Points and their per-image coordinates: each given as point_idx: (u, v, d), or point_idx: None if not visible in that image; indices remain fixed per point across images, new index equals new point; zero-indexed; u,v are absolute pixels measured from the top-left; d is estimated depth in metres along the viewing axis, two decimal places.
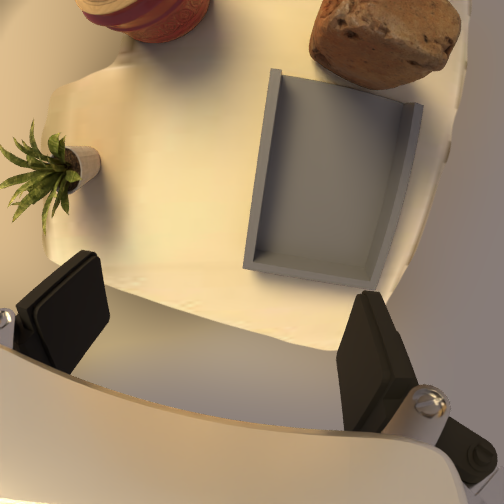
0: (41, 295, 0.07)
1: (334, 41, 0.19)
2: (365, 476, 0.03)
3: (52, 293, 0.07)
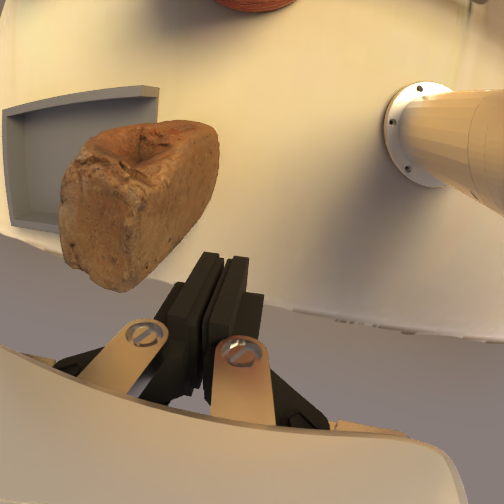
0: (194, 301, 0.08)
1: None
2: (365, 476, 0.03)
3: (201, 298, 0.08)
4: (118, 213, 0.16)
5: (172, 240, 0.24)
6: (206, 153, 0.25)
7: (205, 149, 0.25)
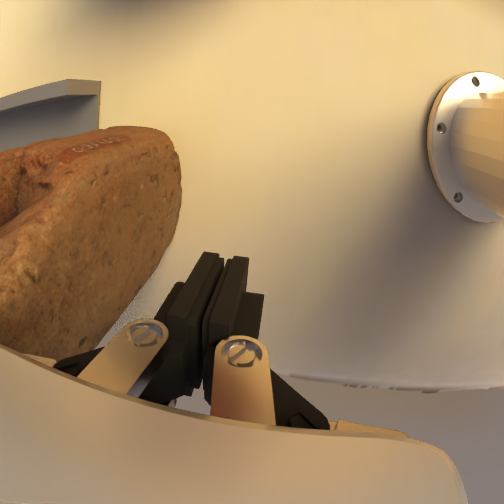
0: (194, 301, 0.08)
1: None
2: (365, 476, 0.03)
3: (201, 298, 0.08)
4: None
5: (91, 336, 0.13)
6: (142, 184, 0.14)
7: (139, 178, 0.14)
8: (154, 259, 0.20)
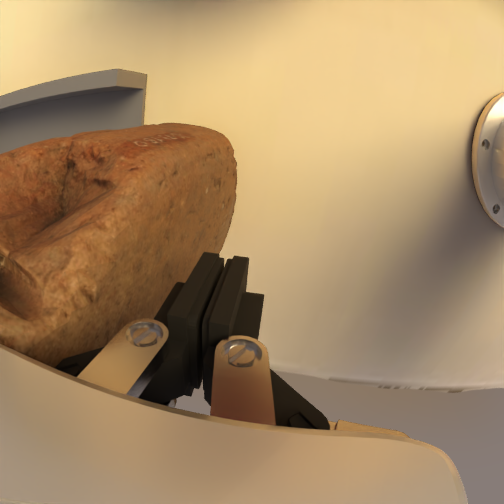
0: (193, 301, 0.08)
1: None
2: (365, 476, 0.03)
3: (201, 298, 0.08)
4: None
5: None
6: (207, 188, 0.13)
7: (205, 181, 0.13)
8: None
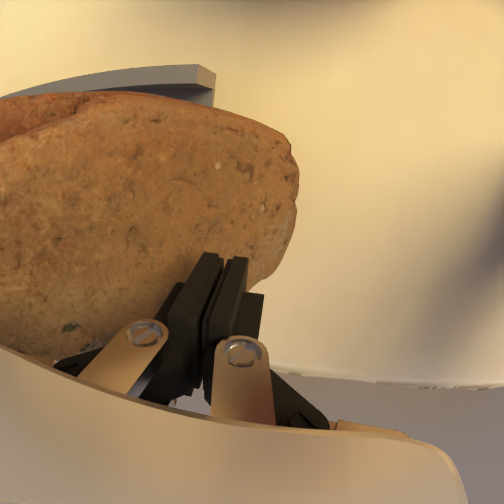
0: (194, 301, 0.08)
1: None
2: (365, 476, 0.03)
3: (201, 298, 0.08)
4: None
5: (90, 330, 0.10)
6: (218, 163, 0.11)
7: (214, 151, 0.11)
8: None
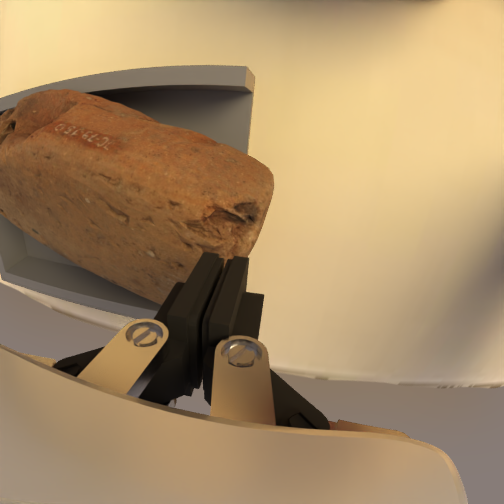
0: (194, 301, 0.08)
1: None
2: (365, 476, 0.03)
3: (201, 298, 0.08)
4: None
5: (45, 239, 0.17)
6: (87, 199, 0.13)
7: (82, 189, 0.12)
8: (142, 289, 0.18)
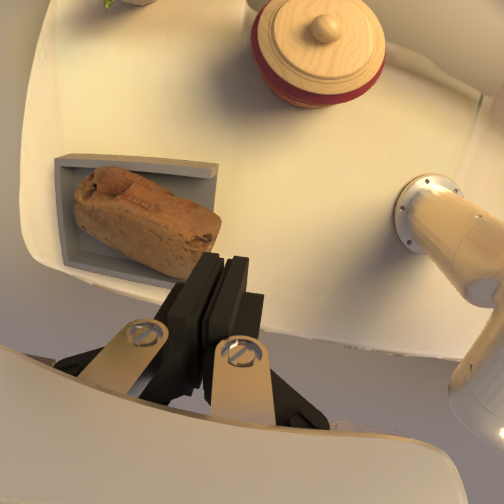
0: (194, 301, 0.08)
1: None
2: (365, 476, 0.03)
3: (201, 298, 0.08)
4: None
5: (111, 243, 0.38)
6: (144, 230, 0.34)
7: (143, 226, 0.34)
8: (162, 268, 0.39)
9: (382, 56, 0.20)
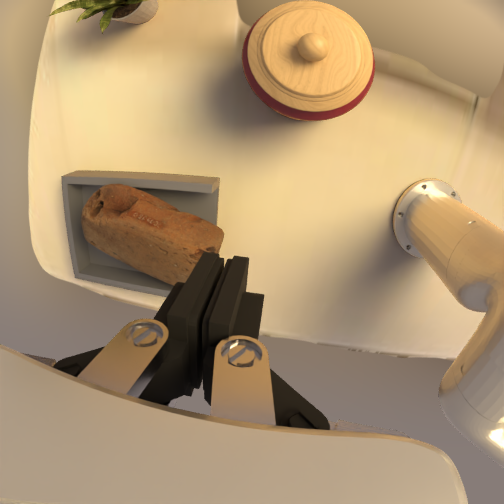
0: (194, 301, 0.08)
1: None
2: (365, 476, 0.03)
3: (201, 298, 0.08)
4: None
5: (120, 257, 0.41)
6: (150, 245, 0.36)
7: (149, 241, 0.36)
8: (169, 280, 0.41)
9: (370, 70, 0.22)
